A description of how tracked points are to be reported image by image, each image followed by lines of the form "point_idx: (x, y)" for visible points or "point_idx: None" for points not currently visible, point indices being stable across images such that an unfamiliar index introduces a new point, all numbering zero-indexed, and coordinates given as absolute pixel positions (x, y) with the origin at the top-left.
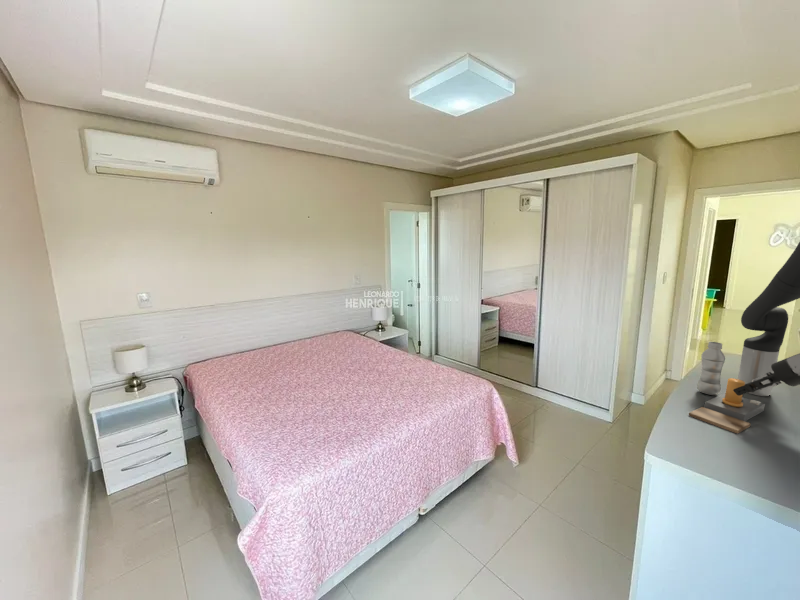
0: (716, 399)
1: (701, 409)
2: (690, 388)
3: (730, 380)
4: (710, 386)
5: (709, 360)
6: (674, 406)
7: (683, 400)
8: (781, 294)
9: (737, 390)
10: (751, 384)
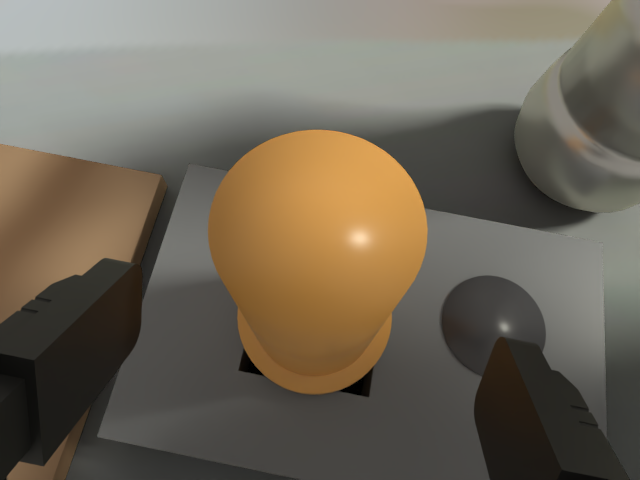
0: None
1: (93, 179)
2: None
3: (255, 161)
4: (550, 126)
5: None
6: (86, 65)
7: (258, 82)
8: None
9: (46, 299)
10: (510, 415)
